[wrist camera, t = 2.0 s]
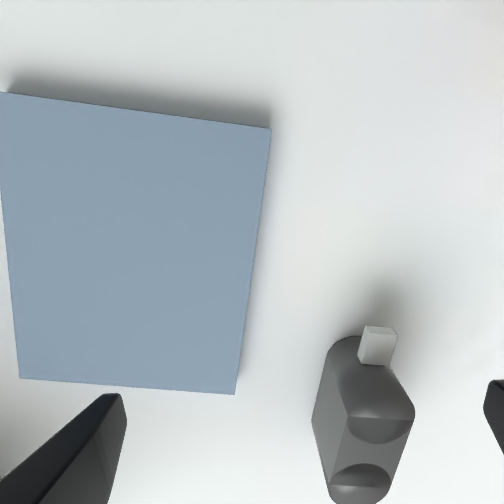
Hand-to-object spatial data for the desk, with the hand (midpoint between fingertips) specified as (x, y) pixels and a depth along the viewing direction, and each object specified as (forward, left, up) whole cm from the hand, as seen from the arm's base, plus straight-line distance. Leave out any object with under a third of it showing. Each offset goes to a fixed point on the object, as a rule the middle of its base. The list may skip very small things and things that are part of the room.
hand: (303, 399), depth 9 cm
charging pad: (-2, +7, -13) cm, 15 cm away
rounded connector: (-10, -7, -13) cm, 18 cm away
